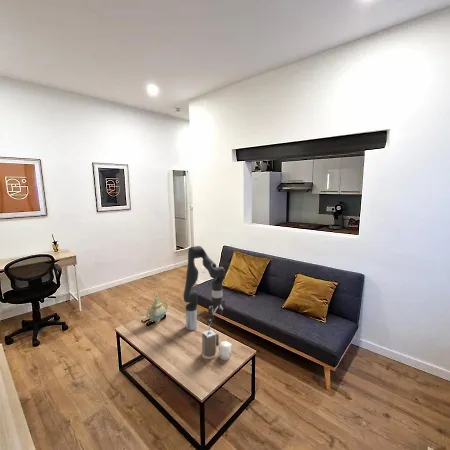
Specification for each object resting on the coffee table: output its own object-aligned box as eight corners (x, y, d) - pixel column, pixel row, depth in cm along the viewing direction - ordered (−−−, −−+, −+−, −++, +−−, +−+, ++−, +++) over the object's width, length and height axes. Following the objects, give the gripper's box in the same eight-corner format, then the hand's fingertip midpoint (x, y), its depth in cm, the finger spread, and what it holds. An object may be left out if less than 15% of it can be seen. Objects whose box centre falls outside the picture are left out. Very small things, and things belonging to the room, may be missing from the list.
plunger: (205, 342, 179) (205, 319, 177) (210, 340, 181) (210, 318, 179) (208, 344, 176) (208, 321, 174) (212, 343, 178) (212, 320, 176)
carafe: (199, 352, 182) (198, 331, 179) (214, 346, 189) (214, 326, 186) (206, 361, 173) (206, 339, 170) (221, 354, 179) (222, 333, 177)
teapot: (150, 331, 207) (149, 297, 203) (142, 327, 214) (140, 293, 209) (172, 319, 226) (171, 288, 222) (164, 315, 233) (163, 285, 228)
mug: (216, 355, 179) (217, 343, 178) (228, 350, 184) (228, 339, 183) (223, 361, 172) (223, 349, 171) (234, 356, 178) (235, 344, 176)
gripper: (220, 290, 180) (219, 311, 182) (205, 296, 169) (205, 318, 172) (227, 293, 175) (227, 314, 178) (213, 300, 164) (213, 323, 167)
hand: (216, 316), depth 175 cm, fingers open, 8 cm apart
